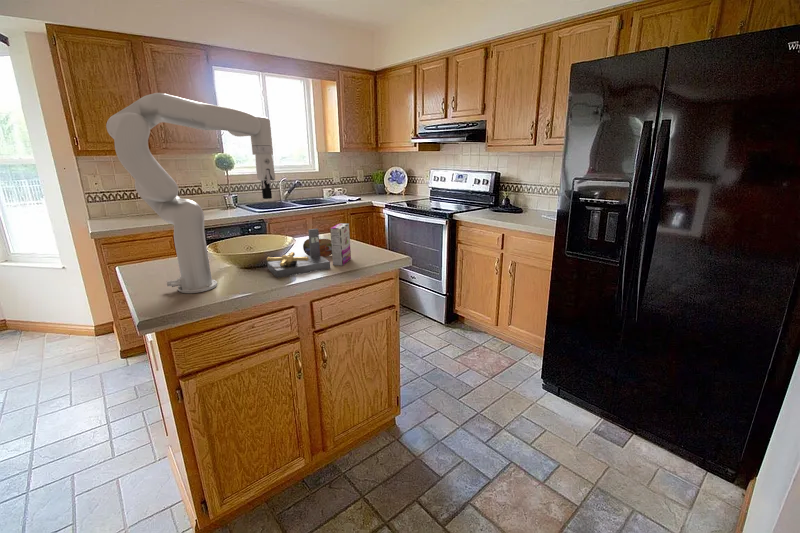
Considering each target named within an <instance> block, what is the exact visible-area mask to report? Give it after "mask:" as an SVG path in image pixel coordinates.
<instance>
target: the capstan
mask: <svg viewBox="0 0 800 533" xmlns="http://www.w3.org/2000/svg"><path fill="white" fill-rule="evenodd" d="M295 255H296V254H295V252H293V251H291V252H288V253H287V254H282V255H281V256H277V257H276V256H275V257H272V256H267V258H266V261H267V262H272V261H281V263H280V266H282V267H283V266H290V265H295V264H297V261H308V259H309V258H308V257H304V256H295Z"/></svg>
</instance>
